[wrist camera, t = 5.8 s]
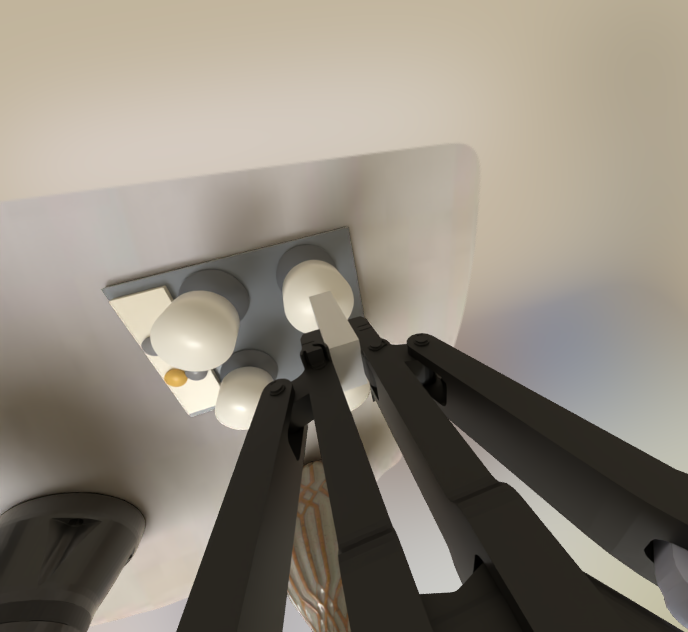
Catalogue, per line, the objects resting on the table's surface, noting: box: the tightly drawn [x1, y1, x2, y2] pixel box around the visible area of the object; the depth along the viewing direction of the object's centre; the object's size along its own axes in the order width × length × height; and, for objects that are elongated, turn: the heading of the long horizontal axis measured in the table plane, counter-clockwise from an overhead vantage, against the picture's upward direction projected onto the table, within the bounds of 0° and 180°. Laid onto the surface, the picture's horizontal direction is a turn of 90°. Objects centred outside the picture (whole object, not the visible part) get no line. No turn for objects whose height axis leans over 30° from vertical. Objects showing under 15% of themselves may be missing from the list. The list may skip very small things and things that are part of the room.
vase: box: [287, 460, 351, 632], centre depth 32 cm, size 13×13×18 cm
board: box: [101, 227, 364, 417], centre depth 27 cm, size 22×16×2 cm
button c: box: [344, 377, 371, 411], centre depth 25 cm, size 5×5×5 cm
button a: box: [215, 366, 273, 430], centre depth 26 cm, size 5×5×5 cm
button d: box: [282, 260, 354, 333], centre depth 21 cm, size 5×5×5 cm
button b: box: [150, 291, 240, 372], centre depth 20 cm, size 5×5×5 cm
